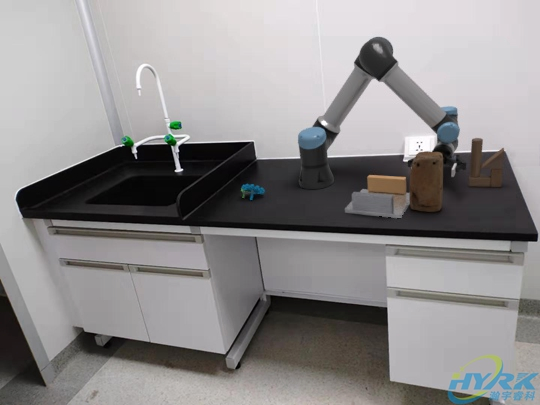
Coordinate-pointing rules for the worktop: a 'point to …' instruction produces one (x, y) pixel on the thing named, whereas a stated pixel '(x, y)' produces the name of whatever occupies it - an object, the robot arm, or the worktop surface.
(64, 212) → the worktop surface
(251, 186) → the blue bumpy figure
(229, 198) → the worktop surface
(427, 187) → the block
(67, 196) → the worktop surface
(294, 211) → the worktop surface
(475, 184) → the wooden block structure
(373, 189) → the block
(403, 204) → the base
